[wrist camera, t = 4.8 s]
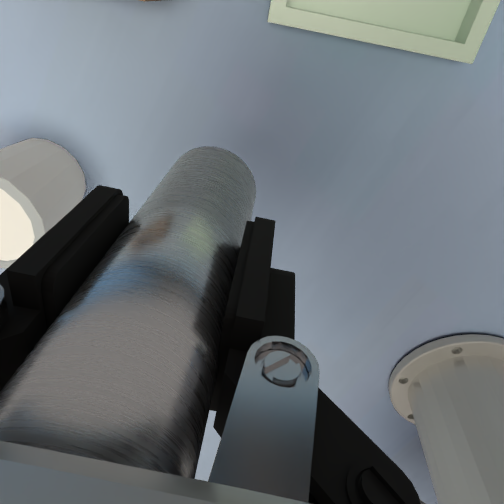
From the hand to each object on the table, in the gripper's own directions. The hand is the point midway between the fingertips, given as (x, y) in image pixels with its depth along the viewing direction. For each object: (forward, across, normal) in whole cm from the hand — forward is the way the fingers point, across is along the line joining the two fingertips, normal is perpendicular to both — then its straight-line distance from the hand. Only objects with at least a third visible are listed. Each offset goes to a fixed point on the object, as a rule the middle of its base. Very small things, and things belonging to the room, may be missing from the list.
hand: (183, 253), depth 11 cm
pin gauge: (+4, 0, 0) cm, 4 cm away
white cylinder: (+17, +14, +7) cm, 23 cm away
